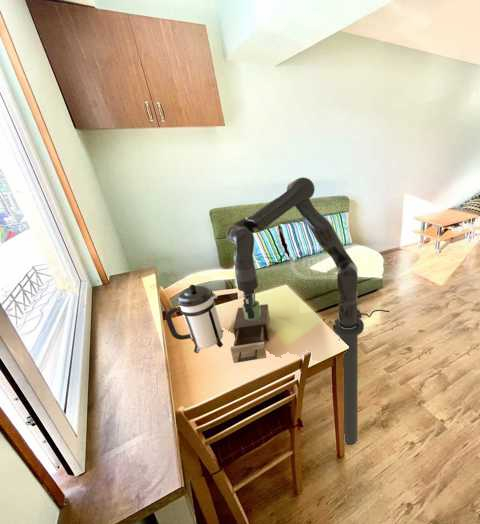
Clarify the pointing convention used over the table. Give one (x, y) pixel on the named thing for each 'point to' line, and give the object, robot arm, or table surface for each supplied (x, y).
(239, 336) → the drawer
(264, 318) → the cabinet
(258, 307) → the pot
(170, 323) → the coffee press
